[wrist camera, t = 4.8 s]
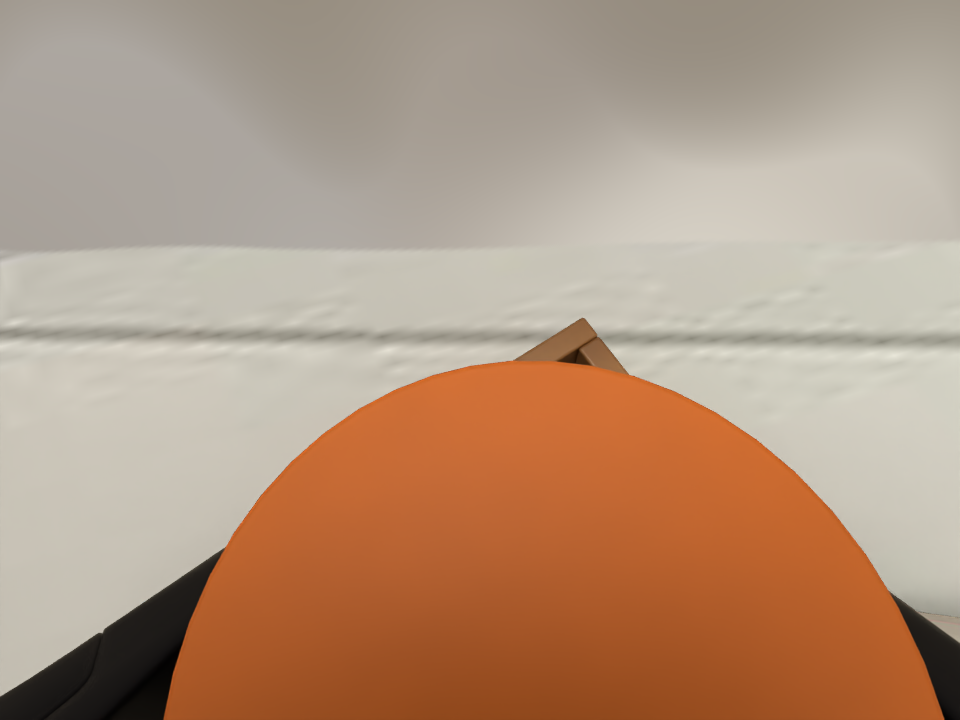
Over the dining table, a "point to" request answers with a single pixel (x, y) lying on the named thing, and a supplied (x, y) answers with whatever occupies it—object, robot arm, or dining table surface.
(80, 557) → the dining table surface
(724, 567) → the tube
